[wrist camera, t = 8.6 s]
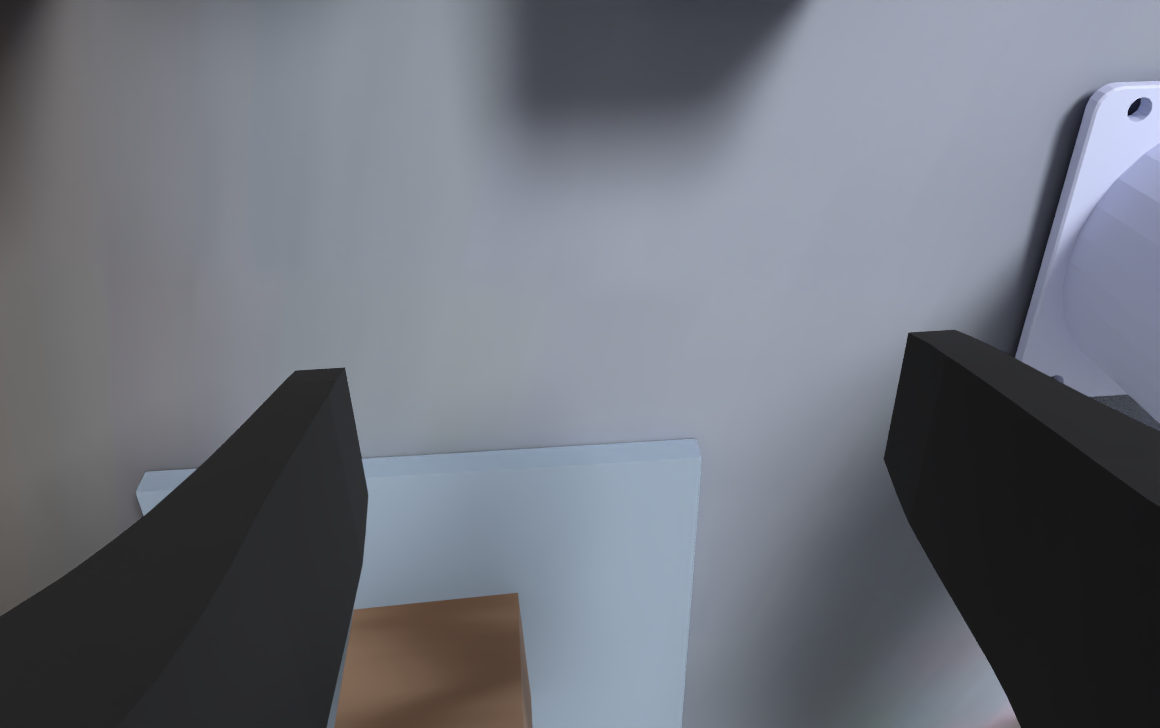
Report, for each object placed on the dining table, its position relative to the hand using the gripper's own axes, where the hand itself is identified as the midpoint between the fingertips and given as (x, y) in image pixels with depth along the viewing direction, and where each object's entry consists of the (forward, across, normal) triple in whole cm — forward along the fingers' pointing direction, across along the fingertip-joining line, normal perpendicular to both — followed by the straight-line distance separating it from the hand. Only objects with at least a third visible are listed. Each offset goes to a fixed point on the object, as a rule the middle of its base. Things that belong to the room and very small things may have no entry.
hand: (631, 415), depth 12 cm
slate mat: (+9, +4, +14) cm, 18 cm away
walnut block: (+9, +4, +14) cm, 17 cm away
